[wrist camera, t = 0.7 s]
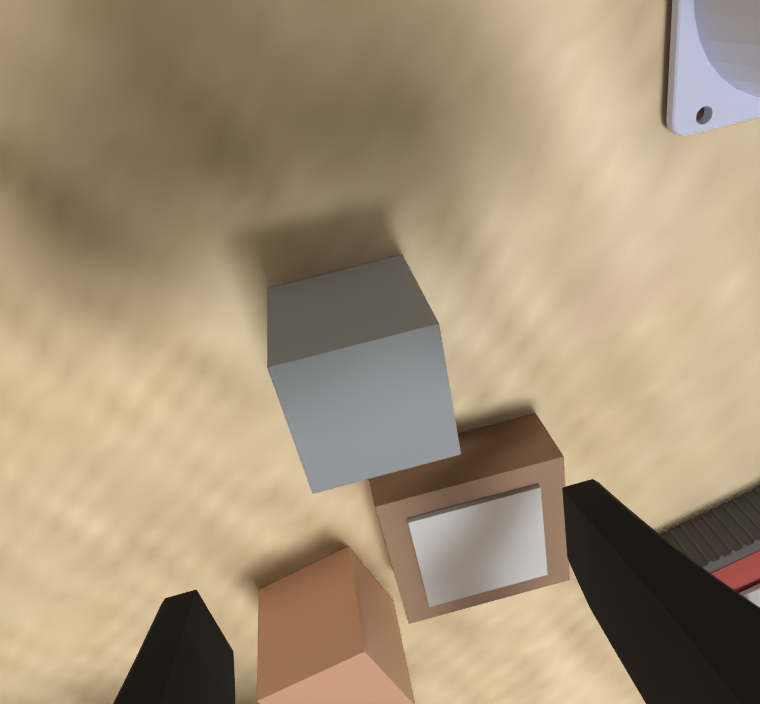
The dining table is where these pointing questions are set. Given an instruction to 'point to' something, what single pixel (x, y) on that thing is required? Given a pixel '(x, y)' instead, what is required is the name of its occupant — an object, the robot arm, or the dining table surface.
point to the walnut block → (476, 520)
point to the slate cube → (360, 373)
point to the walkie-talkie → (726, 543)
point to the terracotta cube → (330, 638)
